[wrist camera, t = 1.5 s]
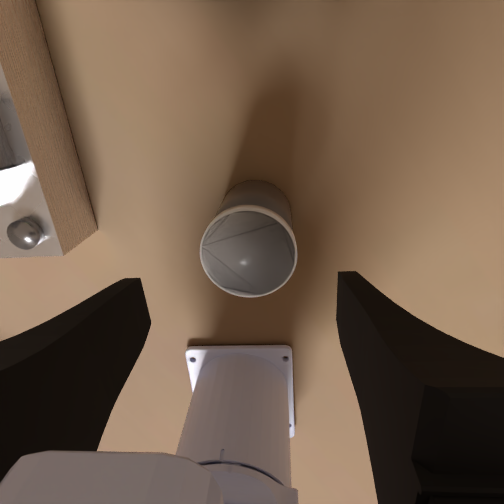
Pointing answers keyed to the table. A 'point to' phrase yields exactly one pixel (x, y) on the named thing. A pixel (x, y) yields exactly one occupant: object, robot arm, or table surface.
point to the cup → (250, 241)
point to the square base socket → (36, 146)
